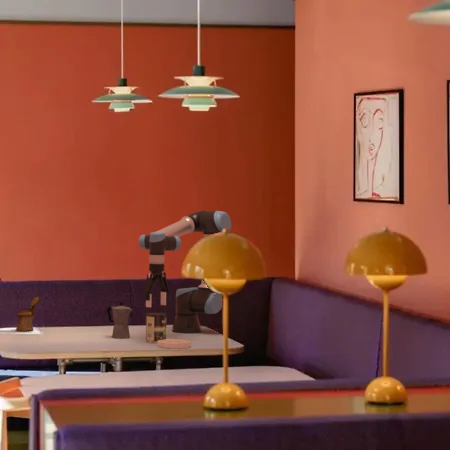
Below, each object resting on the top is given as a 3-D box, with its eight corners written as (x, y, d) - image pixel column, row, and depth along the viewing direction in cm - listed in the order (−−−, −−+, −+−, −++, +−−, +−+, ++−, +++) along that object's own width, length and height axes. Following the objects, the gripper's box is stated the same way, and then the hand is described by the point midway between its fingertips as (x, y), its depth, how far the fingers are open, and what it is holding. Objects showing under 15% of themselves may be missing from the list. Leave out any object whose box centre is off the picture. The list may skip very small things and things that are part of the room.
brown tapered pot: (43, 330, 636) (44, 296, 635) (22, 332, 626) (22, 297, 626) (34, 328, 642) (34, 294, 641) (12, 330, 633) (12, 296, 632)
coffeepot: (136, 337, 611) (137, 302, 611) (126, 339, 603) (127, 303, 602) (111, 335, 619) (112, 300, 618) (101, 337, 611) (101, 301, 610)
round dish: (168, 343, 592) (168, 338, 592) (196, 345, 584) (196, 340, 584) (151, 346, 578) (151, 341, 578) (179, 349, 570) (179, 344, 570)
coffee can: (168, 340, 601) (168, 312, 600) (163, 343, 591) (163, 314, 590) (148, 339, 603) (148, 311, 602) (143, 342, 593) (143, 314, 592)
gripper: (163, 261, 608) (162, 303, 609) (136, 264, 586) (135, 307, 587) (176, 262, 604) (175, 304, 605) (149, 264, 582) (148, 308, 583)
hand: (156, 306), depth 596 cm, fingers open, 13 cm apart
